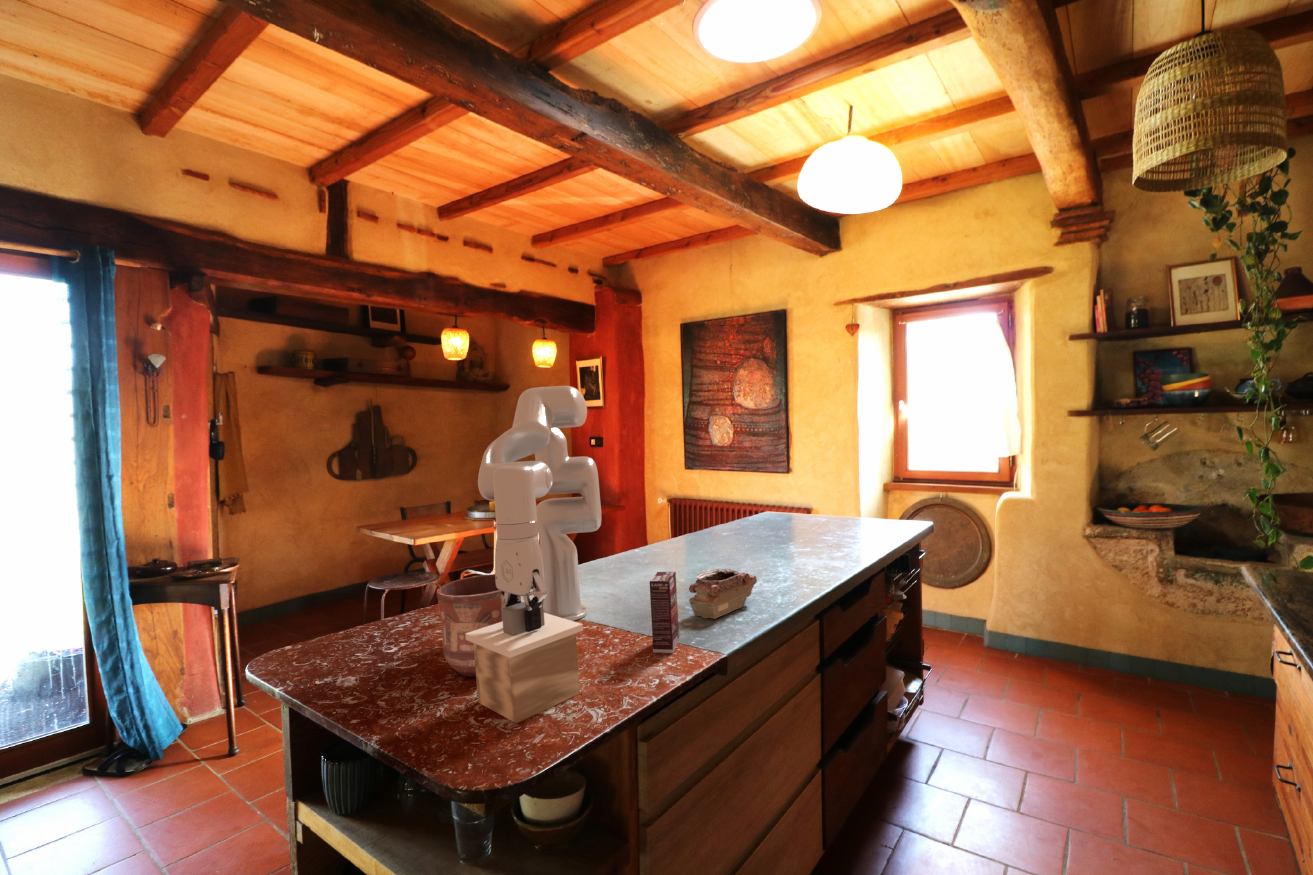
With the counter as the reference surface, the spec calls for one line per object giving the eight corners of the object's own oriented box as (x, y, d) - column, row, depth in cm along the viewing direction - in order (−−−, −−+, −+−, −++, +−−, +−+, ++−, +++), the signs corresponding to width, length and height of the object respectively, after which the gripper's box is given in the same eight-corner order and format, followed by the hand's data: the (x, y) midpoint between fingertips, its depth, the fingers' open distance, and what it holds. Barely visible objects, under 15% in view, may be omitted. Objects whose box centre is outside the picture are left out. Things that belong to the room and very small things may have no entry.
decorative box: (676, 612, 159) (674, 576, 159) (730, 595, 171) (728, 561, 171) (710, 624, 148) (708, 584, 148) (765, 604, 161) (763, 568, 160)
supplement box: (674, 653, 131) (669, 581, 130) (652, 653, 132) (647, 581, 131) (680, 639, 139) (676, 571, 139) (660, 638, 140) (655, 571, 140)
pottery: (439, 661, 135) (433, 581, 135) (518, 645, 142) (513, 569, 142) (445, 691, 119) (438, 601, 118) (534, 671, 126) (528, 586, 125)
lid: (466, 645, 113) (463, 609, 113) (537, 620, 124) (535, 588, 124) (510, 663, 103) (507, 624, 102) (583, 635, 114) (581, 600, 114)
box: (477, 702, 113) (473, 639, 113) (539, 676, 123) (535, 618, 123) (516, 723, 104) (511, 654, 104) (579, 693, 114) (575, 630, 114)
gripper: (475, 530, 116) (482, 623, 117) (526, 538, 104) (533, 642, 105) (509, 524, 122) (515, 613, 122) (561, 531, 110) (568, 629, 110)
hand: (524, 625), depth 113 cm, fingers open, 5 cm apart
